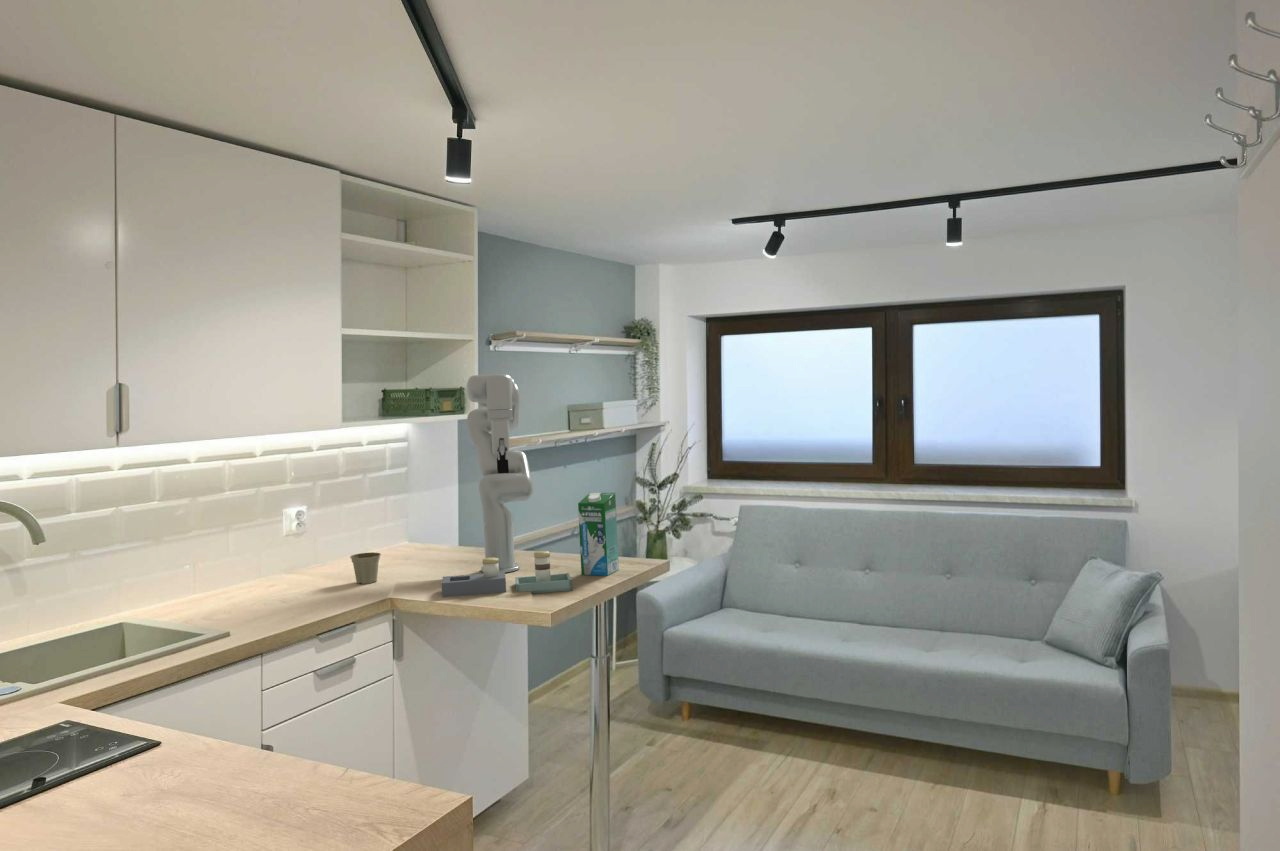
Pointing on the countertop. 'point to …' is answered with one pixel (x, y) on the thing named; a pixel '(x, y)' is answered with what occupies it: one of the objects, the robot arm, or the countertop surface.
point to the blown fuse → (542, 566)
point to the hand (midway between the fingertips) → (502, 471)
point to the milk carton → (598, 534)
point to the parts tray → (544, 584)
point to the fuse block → (476, 581)
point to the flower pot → (366, 567)
